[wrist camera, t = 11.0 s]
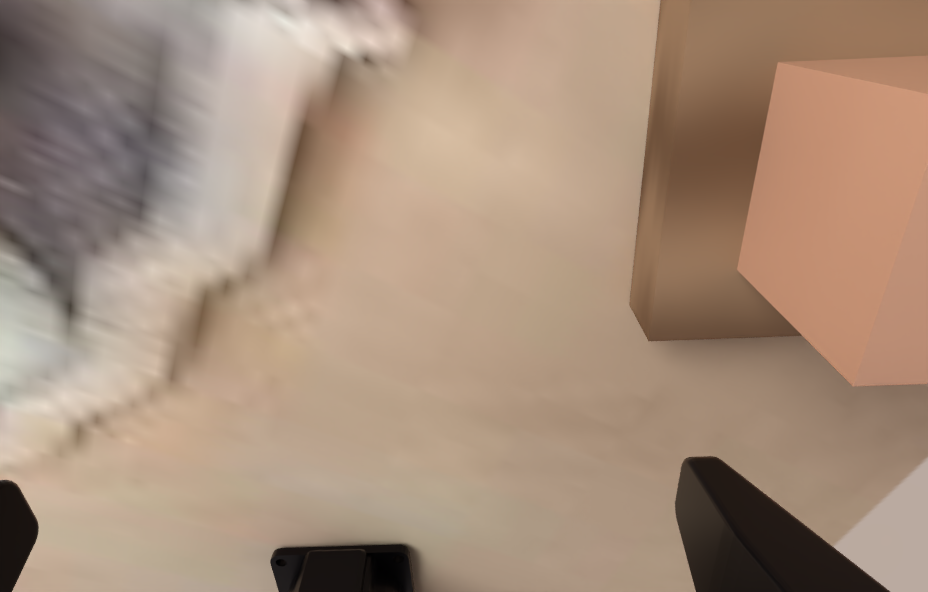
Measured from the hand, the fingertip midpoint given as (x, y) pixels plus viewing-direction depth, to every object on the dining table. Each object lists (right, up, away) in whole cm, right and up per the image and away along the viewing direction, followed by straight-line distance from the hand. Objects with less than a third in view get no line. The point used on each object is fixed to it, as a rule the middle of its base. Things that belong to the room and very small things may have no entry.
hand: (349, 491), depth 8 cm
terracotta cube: (+13, +6, +9) cm, 17 cm away
